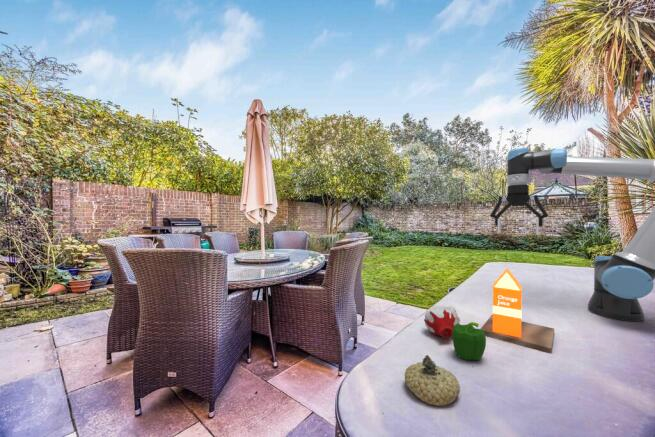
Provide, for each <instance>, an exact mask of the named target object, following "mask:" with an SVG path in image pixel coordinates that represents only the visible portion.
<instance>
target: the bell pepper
mask: <svg viewBox="0 0 655 437" xmlns="http://www.w3.org/2000/svg"><path fill="white" fill-rule="evenodd" d="M479 325H480V323H478V322H473V321H472V322H468V323H467V324H456V325H455V326H454V328H453V331H452V336H451V337H452V344H453V348H454V352H455V354H456V356H458V357H459V358H460V359H463V360H464V361H465V360H466V361H470V360H472V361H479V360H480V359H481V358H483V355H484V353H485V349H486V347H487V346H486V345H487V338H486V337H487V336H486V335H485V333H484V330H481V328H478V327H479Z"/></svg>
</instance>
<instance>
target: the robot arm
mask: <svg viewBox="0 0 655 437" xmlns="http://www.w3.org/2000/svg"><path fill="white" fill-rule="evenodd" d="M567 150H568V149H567V148H554V149H547V150H537V151H530V149H529V148H528V147H518V148H513V149H511V150H509V151H508V152H507V182H506V183H507V185H508V186H507V192H506V193H507V194H506V196H499V197H498V201H497V203H496V205H495V206H494V208H493V210H492V212H491V213H490V218H494V225H495V226H497V234H500V233H502V219H501V216H502V215H503V214H504V213H505V212H507V210H509V208H510V207H524V206H525V207H526V208H528V210H530V212H532V213H533V214H534V215H535V216H536V217H537V218H536V219H535V220H536V221H535V222H536V224H535V226H536V227H535V231H536V232H535V233H536V235H537V236H538V235H540V227H543V222H544V221H543V220H544V218H548V217H549V214H548V212H547V211H546V209H545V208H544V207H543V204H542V203H541V202H540V200H539V195H537V194H535V195H530V190H529V189H530V188H529V187H530V186H529V183H530V171H536V170H538V171H539V172H540V173H542V174H545V175H548V174H560V175H561V174H563V175H577V176H591V177H592V176H593V177H605V178H618V179H620V178H621V179H630V180H631V179H633V180H634V179H635V180H645V181H646V180H647V181H648V182H649V183H651V184H655V158H653V159H651V158H631V157H630V158H625V157H603V156H601V157H600V156H598V157H596V156H572V155H568V151H567ZM529 200H532V201H534V203H535V204H536V206H537V207H538V209H539V210H540V212H541V213H542V214H541V213H539V212H538V211H537V210H536V209H535V208H534V207H533V206H531V204H530V203H529ZM505 201H507V202H508V203H507V204H506V205H505V206H504V207H503V208H502V209H500V207H501V206H502V205H503V202H505ZM499 209H500V211H499ZM498 211H499V212H498ZM497 212H498V213H497ZM593 265H594V269H593V270H594V274H593V277H594V278H593V280H594V281H593V293H592V296H591V297H590V300H589V301H588V303H587V310H588V311H589V312H591V313H593V314H595V315H597V316H601V317H606V318H610V319H613V320H614V319H615V320H619V321H626V322H627V321H629V322H643V321H645V313H644V310H643V309H642V306H641V304H640V302H639V299H642V298H645V297H646V296H648V295H649V294H650V293H651V292H653V289H654V283H655V282H654V281H655V206H654V208H653V209H652V210H651V212H650V213H649V215H648V216H646V218H645V220H644V221H643V222H642V224H641V226H639V228H638V229H637V231H636V232H635V234H634V235H633V236H632V238H631V239H630V241H629V242H628V244H626V246H625V248H624V249H623V251H619V252H614V253H613V254H612V256H606V255H597V256H595V258H594V261H593Z"/></svg>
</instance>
